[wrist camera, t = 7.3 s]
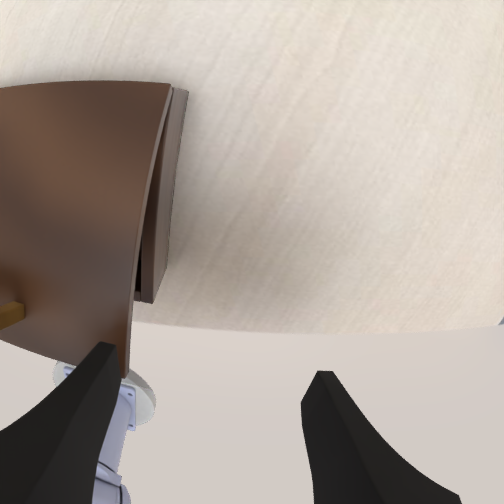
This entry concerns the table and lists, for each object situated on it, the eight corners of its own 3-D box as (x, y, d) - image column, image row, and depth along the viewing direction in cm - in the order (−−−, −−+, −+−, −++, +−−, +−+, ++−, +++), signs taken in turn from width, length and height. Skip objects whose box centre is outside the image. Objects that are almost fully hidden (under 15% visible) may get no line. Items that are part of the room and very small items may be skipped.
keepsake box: (166, 267, 19) (153, 304, 16) (-2, 235, 17) (-31, 260, 14) (189, 90, 14) (174, 87, 11) (-6, 93, 13) (-44, 98, 9)
